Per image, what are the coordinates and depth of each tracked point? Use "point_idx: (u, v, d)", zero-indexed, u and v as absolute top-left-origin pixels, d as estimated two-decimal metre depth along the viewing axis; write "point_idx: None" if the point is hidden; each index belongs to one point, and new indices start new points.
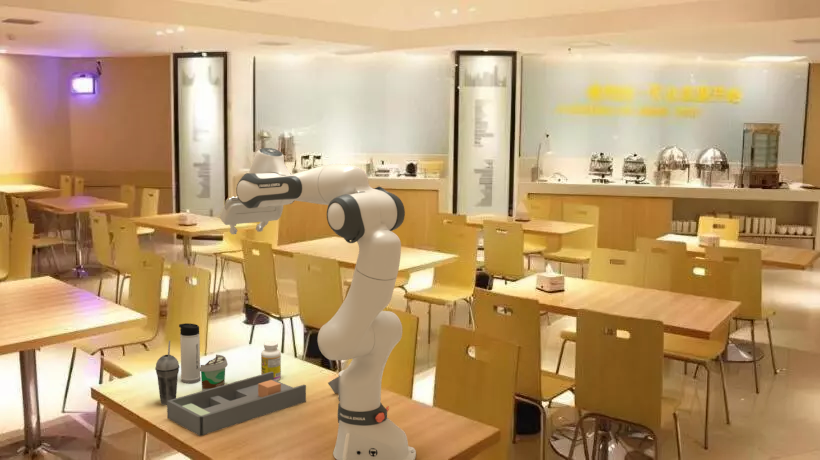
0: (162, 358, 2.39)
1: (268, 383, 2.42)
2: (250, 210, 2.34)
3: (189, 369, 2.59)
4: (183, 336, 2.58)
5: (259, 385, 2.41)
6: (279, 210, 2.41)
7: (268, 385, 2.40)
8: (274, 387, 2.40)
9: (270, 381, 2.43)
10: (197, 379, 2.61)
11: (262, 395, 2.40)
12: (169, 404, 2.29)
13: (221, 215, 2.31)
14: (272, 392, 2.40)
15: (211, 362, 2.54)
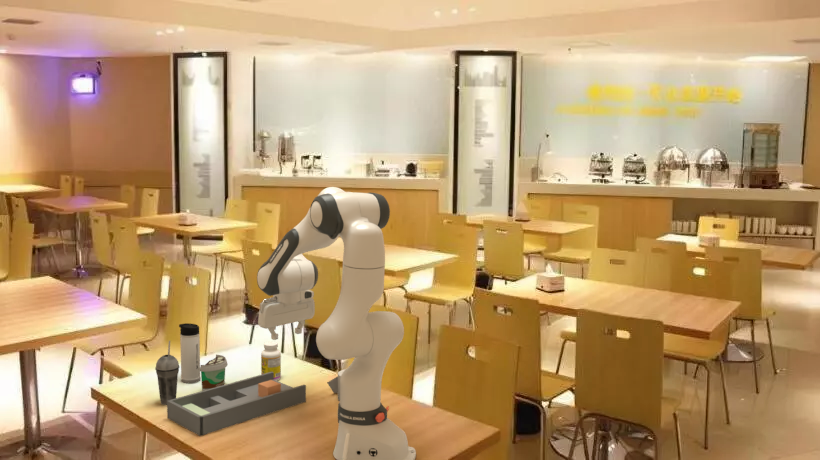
0: (162, 358, 2.39)
1: (268, 383, 2.42)
2: (284, 310, 2.42)
3: (189, 369, 2.59)
4: (183, 336, 2.58)
5: (259, 385, 2.41)
6: (311, 306, 2.49)
7: (268, 385, 2.40)
8: (274, 387, 2.40)
9: (270, 381, 2.43)
10: (197, 379, 2.61)
11: (262, 395, 2.40)
12: (169, 404, 2.29)
13: (259, 321, 2.38)
14: (272, 392, 2.40)
15: (211, 362, 2.54)
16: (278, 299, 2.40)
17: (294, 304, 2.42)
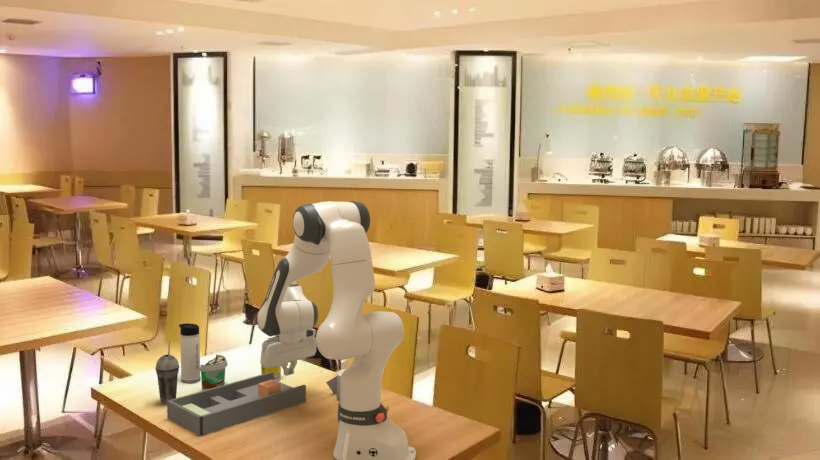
0: (162, 358, 2.39)
1: (268, 383, 2.42)
2: (286, 348, 2.43)
3: (189, 369, 2.59)
4: (183, 336, 2.58)
5: (259, 385, 2.41)
6: (313, 344, 2.51)
7: (268, 385, 2.40)
8: (274, 387, 2.40)
9: (270, 381, 2.43)
10: (197, 379, 2.61)
11: (262, 395, 2.40)
12: (169, 404, 2.29)
13: (261, 360, 2.40)
14: (272, 392, 2.40)
15: (211, 362, 2.54)
16: (280, 338, 2.42)
17: (296, 343, 2.44)
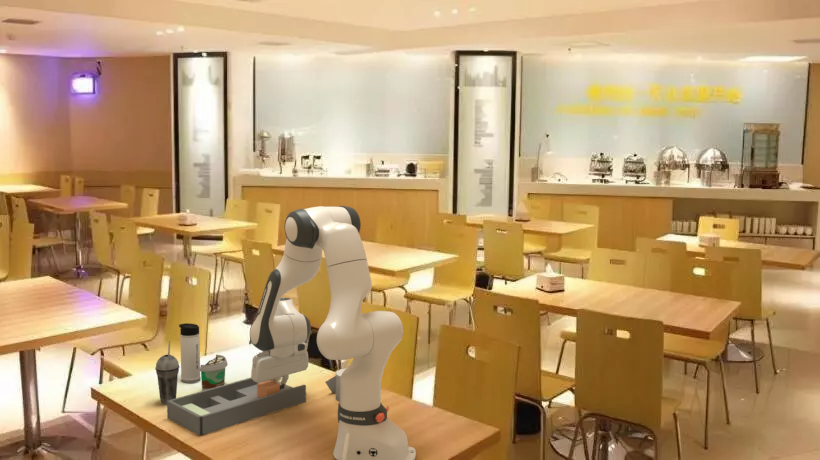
0: (162, 358, 2.39)
1: (267, 383, 2.42)
2: (278, 363, 2.41)
3: (189, 369, 2.59)
4: (183, 336, 2.58)
5: (258, 386, 2.41)
6: (305, 358, 2.48)
7: (267, 386, 2.39)
8: (273, 387, 2.40)
9: (269, 381, 2.43)
10: (197, 379, 2.61)
11: (261, 395, 2.40)
12: (169, 404, 2.29)
13: (252, 375, 2.37)
14: (271, 392, 2.39)
15: (211, 362, 2.54)
16: (271, 353, 2.39)
17: (287, 357, 2.42)
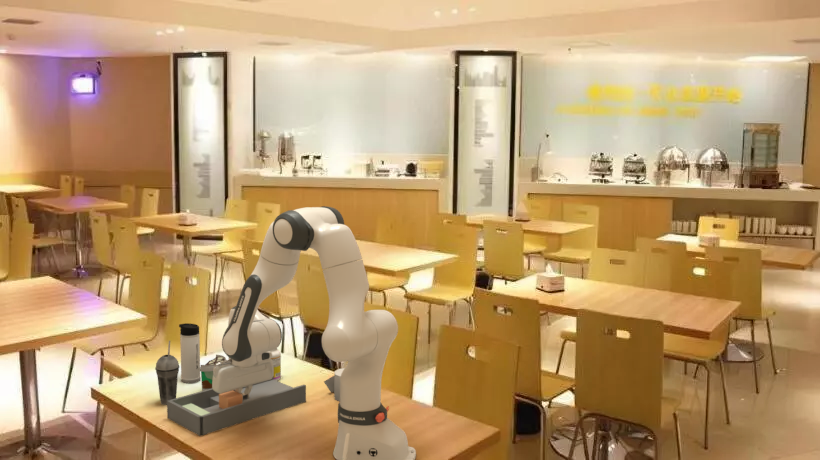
0: (162, 358, 2.39)
1: (229, 393, 2.32)
2: (240, 372, 2.31)
3: (189, 369, 2.59)
4: (183, 336, 2.58)
5: (219, 396, 2.31)
6: (270, 367, 2.38)
7: (229, 396, 2.30)
8: (235, 398, 2.30)
9: (232, 392, 2.34)
10: (197, 379, 2.61)
11: (223, 406, 2.30)
12: (169, 404, 2.29)
13: (213, 386, 2.27)
14: (233, 403, 2.30)
15: (211, 362, 2.54)
16: (233, 362, 2.29)
17: (250, 366, 2.32)
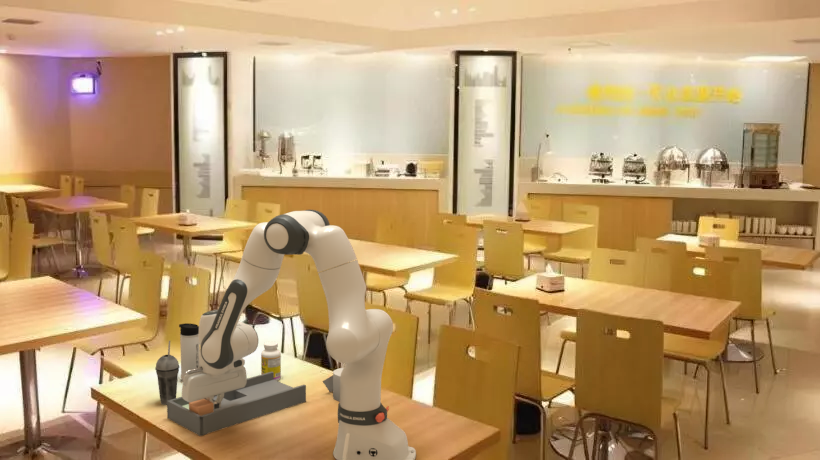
0: (162, 358, 2.39)
1: (200, 402, 2.25)
2: (211, 380, 2.24)
3: (189, 369, 2.59)
4: (183, 336, 2.58)
5: (190, 405, 2.24)
6: (243, 374, 2.31)
7: (199, 405, 2.22)
8: (206, 407, 2.23)
9: (202, 400, 2.26)
10: None
11: None
12: (169, 404, 2.29)
13: (183, 394, 2.20)
14: (203, 412, 2.22)
15: None
16: (203, 370, 2.22)
17: (222, 374, 2.24)
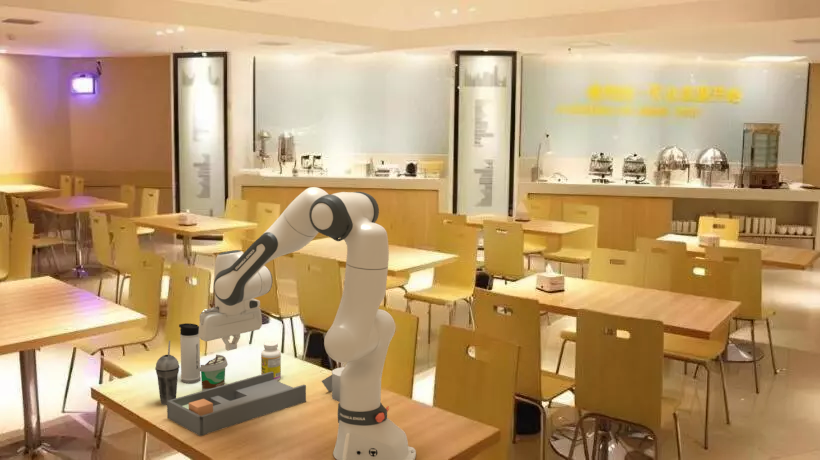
0: (162, 358, 2.39)
1: (199, 402, 2.25)
2: (227, 321, 2.25)
3: (189, 369, 2.59)
4: (183, 336, 2.58)
5: (189, 405, 2.24)
6: (258, 316, 2.33)
7: (199, 405, 2.22)
8: (205, 407, 2.23)
9: (202, 400, 2.26)
10: (197, 379, 2.61)
11: None
12: (169, 404, 2.29)
13: (199, 333, 2.21)
14: (203, 412, 2.22)
15: (211, 362, 2.54)
16: (220, 309, 2.23)
17: (238, 314, 2.26)
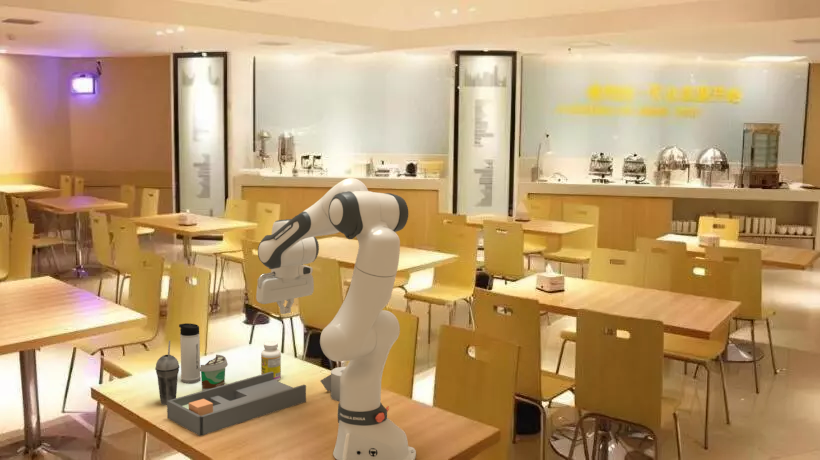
0: (162, 358, 2.39)
1: (199, 402, 2.25)
2: (283, 285, 2.38)
3: (189, 369, 2.59)
4: (183, 336, 2.58)
5: (189, 405, 2.24)
6: (310, 282, 2.45)
7: (199, 405, 2.22)
8: (205, 407, 2.23)
9: (202, 400, 2.26)
10: (197, 379, 2.61)
11: None
12: (169, 404, 2.29)
13: (257, 297, 2.34)
14: (203, 412, 2.22)
15: (211, 362, 2.54)
16: (276, 274, 2.36)
17: (292, 279, 2.38)
